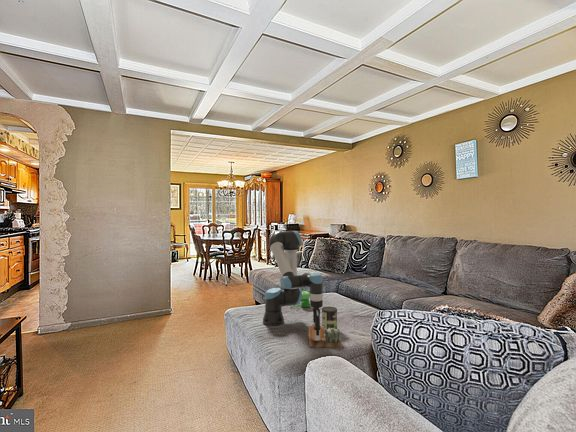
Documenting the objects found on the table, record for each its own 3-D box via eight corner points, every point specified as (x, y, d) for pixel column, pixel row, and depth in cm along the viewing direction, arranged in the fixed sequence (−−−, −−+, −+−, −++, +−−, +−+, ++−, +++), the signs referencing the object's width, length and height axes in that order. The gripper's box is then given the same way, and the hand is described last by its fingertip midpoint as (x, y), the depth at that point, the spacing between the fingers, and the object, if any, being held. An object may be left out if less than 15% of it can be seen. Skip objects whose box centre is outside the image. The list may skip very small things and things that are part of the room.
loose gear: (309, 340, 178) (309, 330, 178) (308, 334, 187) (308, 324, 187) (325, 340, 178) (325, 330, 178) (323, 333, 187) (323, 324, 187)
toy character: (289, 306, 255) (288, 290, 254) (310, 303, 255) (309, 288, 255) (290, 309, 245) (288, 294, 245) (312, 307, 246) (310, 291, 245)
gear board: (310, 347, 175) (310, 333, 175) (308, 337, 189) (308, 324, 189) (342, 347, 176) (342, 333, 175) (338, 337, 190) (338, 324, 189)
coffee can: (339, 328, 203) (339, 307, 203) (333, 334, 194) (333, 312, 194) (325, 325, 209) (325, 305, 208) (319, 330, 200) (318, 309, 200)
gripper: (324, 305, 171) (325, 344, 171) (320, 294, 193) (320, 329, 193) (311, 305, 171) (311, 344, 171) (308, 294, 193) (309, 329, 193)
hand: (316, 336), depth 182 cm, fingers open, 9 cm apart
